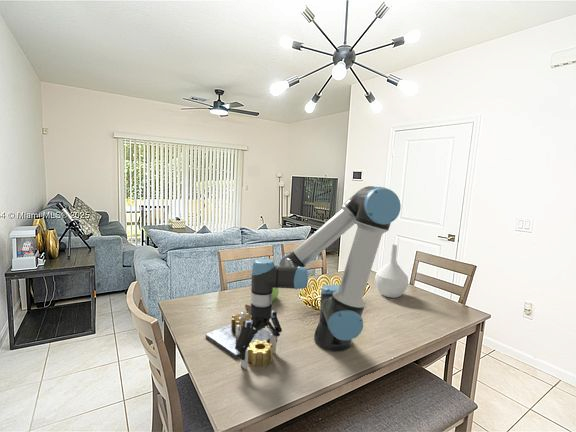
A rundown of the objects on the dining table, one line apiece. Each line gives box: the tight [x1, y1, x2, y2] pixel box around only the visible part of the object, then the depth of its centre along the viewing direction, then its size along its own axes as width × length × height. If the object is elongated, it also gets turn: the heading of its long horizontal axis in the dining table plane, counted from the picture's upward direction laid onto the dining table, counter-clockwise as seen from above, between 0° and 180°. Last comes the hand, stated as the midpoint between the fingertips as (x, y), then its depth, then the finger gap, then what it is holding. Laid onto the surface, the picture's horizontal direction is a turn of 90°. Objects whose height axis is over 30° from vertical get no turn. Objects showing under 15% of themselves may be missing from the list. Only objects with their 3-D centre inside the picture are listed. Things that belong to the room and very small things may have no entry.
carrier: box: [205, 311, 273, 360], centre depth 123 cm, size 20×20×8 cm
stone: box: [244, 303, 251, 315], centre depth 145 cm, size 9×11×5 cm
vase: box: [374, 244, 409, 299], centre depth 176 cm, size 18×18×30 cm
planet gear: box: [248, 340, 273, 368], centre depth 109 cm, size 9×9×5 cm
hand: (258, 359), depth 109 cm, fingers open, 13 cm apart
